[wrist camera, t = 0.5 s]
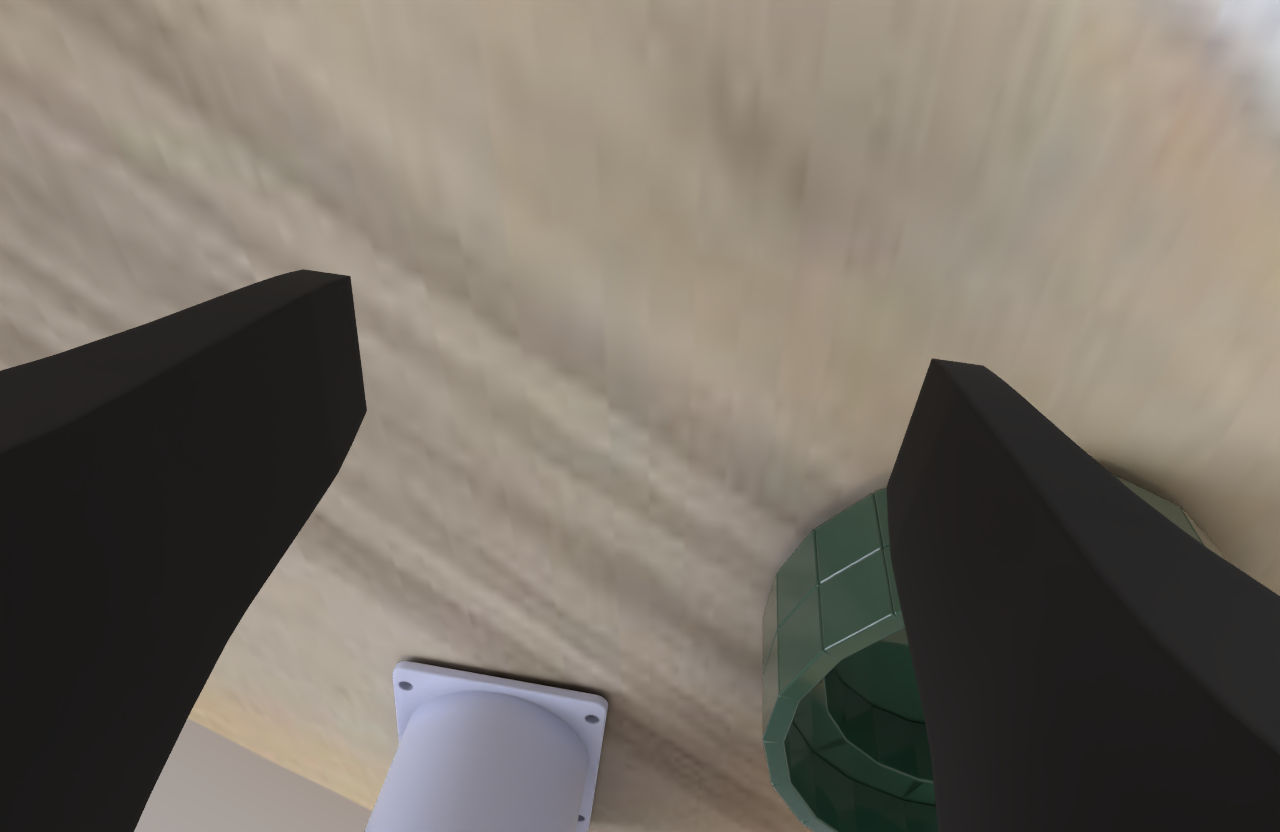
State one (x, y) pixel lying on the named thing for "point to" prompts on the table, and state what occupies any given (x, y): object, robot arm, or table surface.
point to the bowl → (854, 679)
